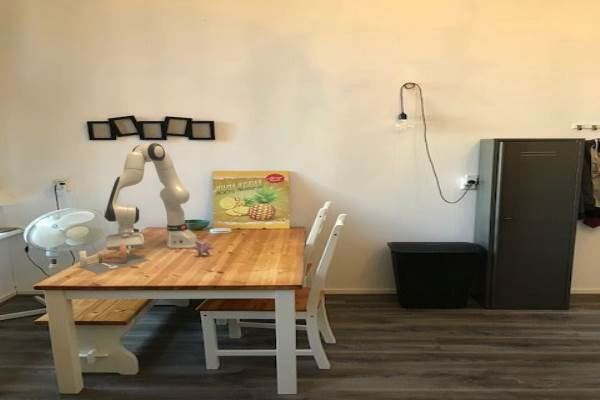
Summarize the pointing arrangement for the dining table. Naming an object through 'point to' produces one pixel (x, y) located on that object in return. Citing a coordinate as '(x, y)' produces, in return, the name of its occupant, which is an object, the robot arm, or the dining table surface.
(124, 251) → the hinged fence section
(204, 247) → the lily
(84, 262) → the fixed fence section
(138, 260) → the board
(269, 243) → the dining table surface
